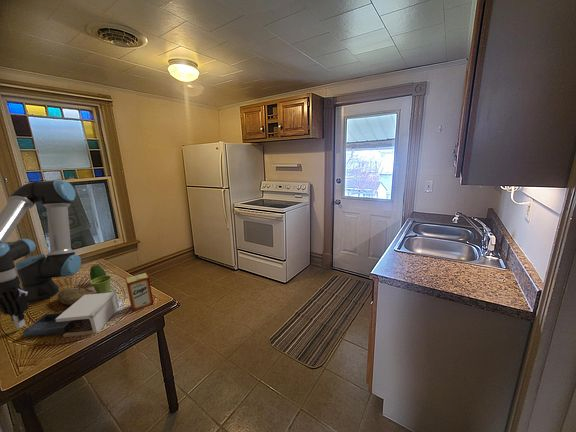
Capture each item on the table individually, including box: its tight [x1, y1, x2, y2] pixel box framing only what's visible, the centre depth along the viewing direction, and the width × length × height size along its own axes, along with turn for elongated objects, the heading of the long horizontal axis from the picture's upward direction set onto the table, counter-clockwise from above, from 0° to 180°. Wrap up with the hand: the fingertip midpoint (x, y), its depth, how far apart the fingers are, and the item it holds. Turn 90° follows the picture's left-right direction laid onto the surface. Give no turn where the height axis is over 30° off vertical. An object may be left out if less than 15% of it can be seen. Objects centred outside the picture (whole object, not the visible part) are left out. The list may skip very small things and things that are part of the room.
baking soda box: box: [125, 272, 155, 312], centre depth 125 cm, size 10×6×16 cm
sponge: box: [57, 287, 97, 306], centre depth 130 cm, size 13×8×20 cm
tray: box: [22, 312, 80, 339], centre depth 111 cm, size 16×12×3 cm
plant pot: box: [90, 275, 112, 294], centre depth 137 cm, size 9×9×9 cm
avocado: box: [89, 264, 107, 281], centre depth 149 cm, size 8×8×12 cm
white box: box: [56, 291, 120, 338], centre depth 113 cm, size 14×19×9 cm
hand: (21, 326), depth 109 cm, fingers closed
